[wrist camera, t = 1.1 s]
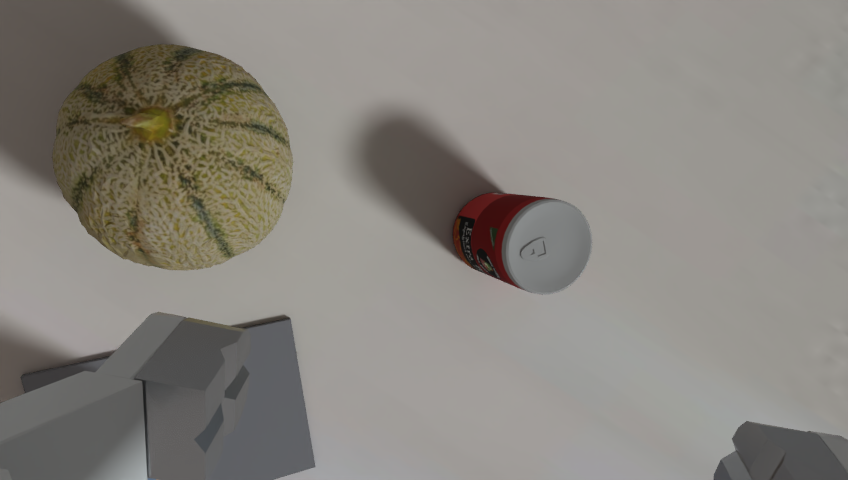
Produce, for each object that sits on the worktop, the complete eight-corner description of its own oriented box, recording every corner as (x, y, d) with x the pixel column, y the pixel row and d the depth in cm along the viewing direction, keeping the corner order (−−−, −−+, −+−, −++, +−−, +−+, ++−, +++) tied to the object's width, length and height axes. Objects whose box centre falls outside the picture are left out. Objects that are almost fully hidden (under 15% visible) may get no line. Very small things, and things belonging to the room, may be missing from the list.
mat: (65, 538, 45) (64, 542, 45) (23, 374, 43) (20, 377, 42) (314, 464, 52) (315, 466, 51) (289, 317, 49) (290, 319, 49)
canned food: (436, 219, 53) (489, 233, 43) (503, 176, 55) (570, 179, 44) (472, 286, 55) (531, 315, 45) (536, 242, 57) (606, 260, 47)
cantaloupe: (234, 281, 47) (241, 332, 33) (44, 202, 42) (-41, 223, 28) (313, 123, 48) (353, 108, 34) (136, 26, 42) (98, -41, 29)
